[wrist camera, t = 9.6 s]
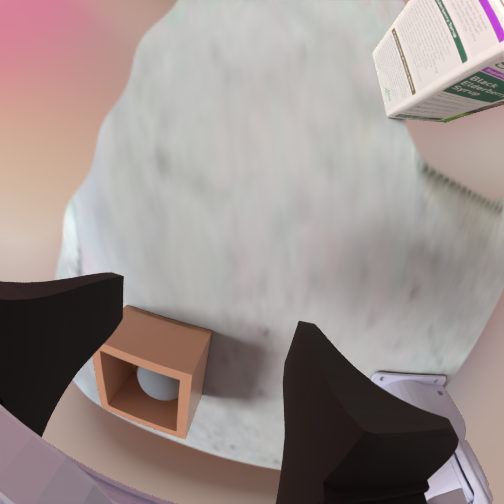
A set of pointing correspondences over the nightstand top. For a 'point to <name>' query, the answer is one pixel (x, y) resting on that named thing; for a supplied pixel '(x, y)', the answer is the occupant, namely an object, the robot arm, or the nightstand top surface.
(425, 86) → the syrup box
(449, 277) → the nightstand top surface
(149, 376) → the ball
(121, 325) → the open square bin
